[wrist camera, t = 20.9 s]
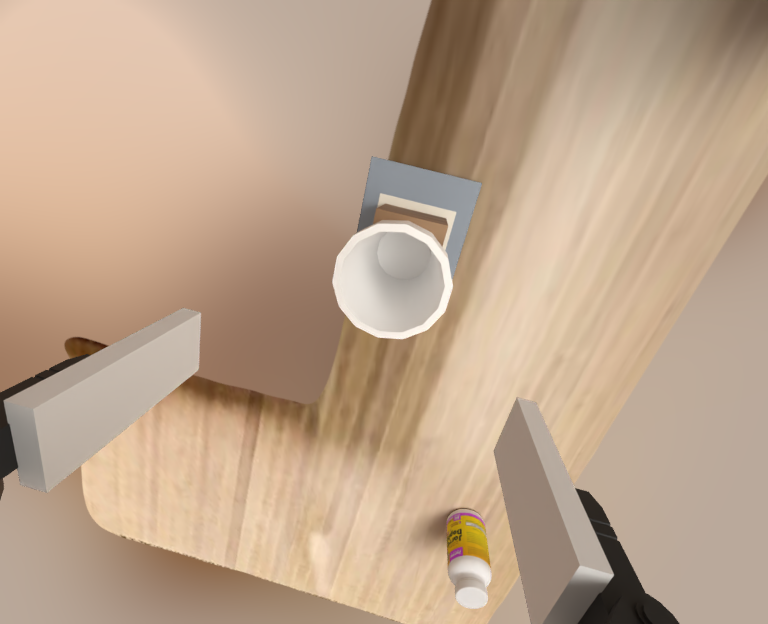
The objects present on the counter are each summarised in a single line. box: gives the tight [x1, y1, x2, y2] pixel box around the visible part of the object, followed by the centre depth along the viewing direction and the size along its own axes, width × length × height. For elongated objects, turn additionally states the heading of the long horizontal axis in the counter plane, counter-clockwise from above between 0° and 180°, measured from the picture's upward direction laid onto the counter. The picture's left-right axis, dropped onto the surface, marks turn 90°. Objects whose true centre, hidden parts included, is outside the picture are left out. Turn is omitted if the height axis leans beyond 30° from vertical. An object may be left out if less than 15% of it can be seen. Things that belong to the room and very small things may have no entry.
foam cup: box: [332, 220, 453, 339], centre depth 34 cm, size 10×9×13 cm
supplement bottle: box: [447, 509, 491, 609], centre depth 59 cm, size 7×7×13 cm
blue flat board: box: [357, 156, 482, 279], centre depth 48 cm, size 18×14×1 cm
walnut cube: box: [373, 204, 448, 247], centre depth 44 cm, size 8×8×8 cm
